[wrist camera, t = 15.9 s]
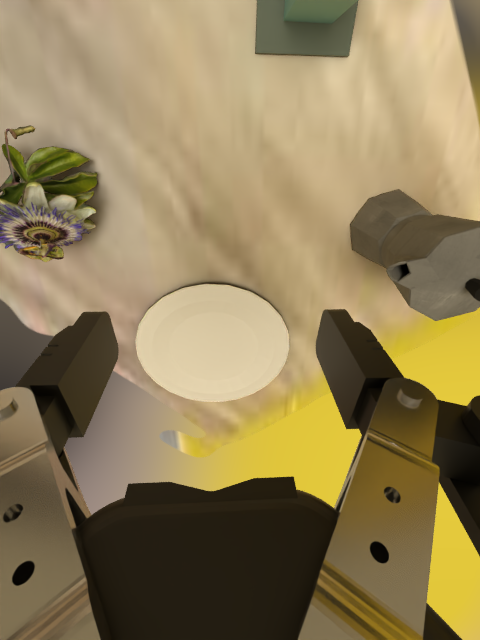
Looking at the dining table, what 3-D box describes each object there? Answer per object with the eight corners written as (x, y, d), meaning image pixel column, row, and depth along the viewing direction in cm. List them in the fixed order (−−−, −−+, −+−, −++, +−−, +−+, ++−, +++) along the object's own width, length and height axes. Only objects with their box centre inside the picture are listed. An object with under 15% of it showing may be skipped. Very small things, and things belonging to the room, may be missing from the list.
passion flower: (90, 215, 40) (30, 279, 35) (12, 138, 33) (-78, 204, 28) (136, 197, 33) (70, 273, 28) (50, 94, 26) (-61, 171, 21)
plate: (199, 412, 58) (198, 419, 56) (103, 330, 45) (99, 337, 44) (312, 359, 51) (314, 366, 50) (236, 246, 39) (236, 251, 37)
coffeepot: (325, 256, 40) (386, 336, 25) (346, 182, 34) (439, 227, 20) (428, 264, 41) (544, 344, 26) (463, 195, 36) (633, 245, 21)
